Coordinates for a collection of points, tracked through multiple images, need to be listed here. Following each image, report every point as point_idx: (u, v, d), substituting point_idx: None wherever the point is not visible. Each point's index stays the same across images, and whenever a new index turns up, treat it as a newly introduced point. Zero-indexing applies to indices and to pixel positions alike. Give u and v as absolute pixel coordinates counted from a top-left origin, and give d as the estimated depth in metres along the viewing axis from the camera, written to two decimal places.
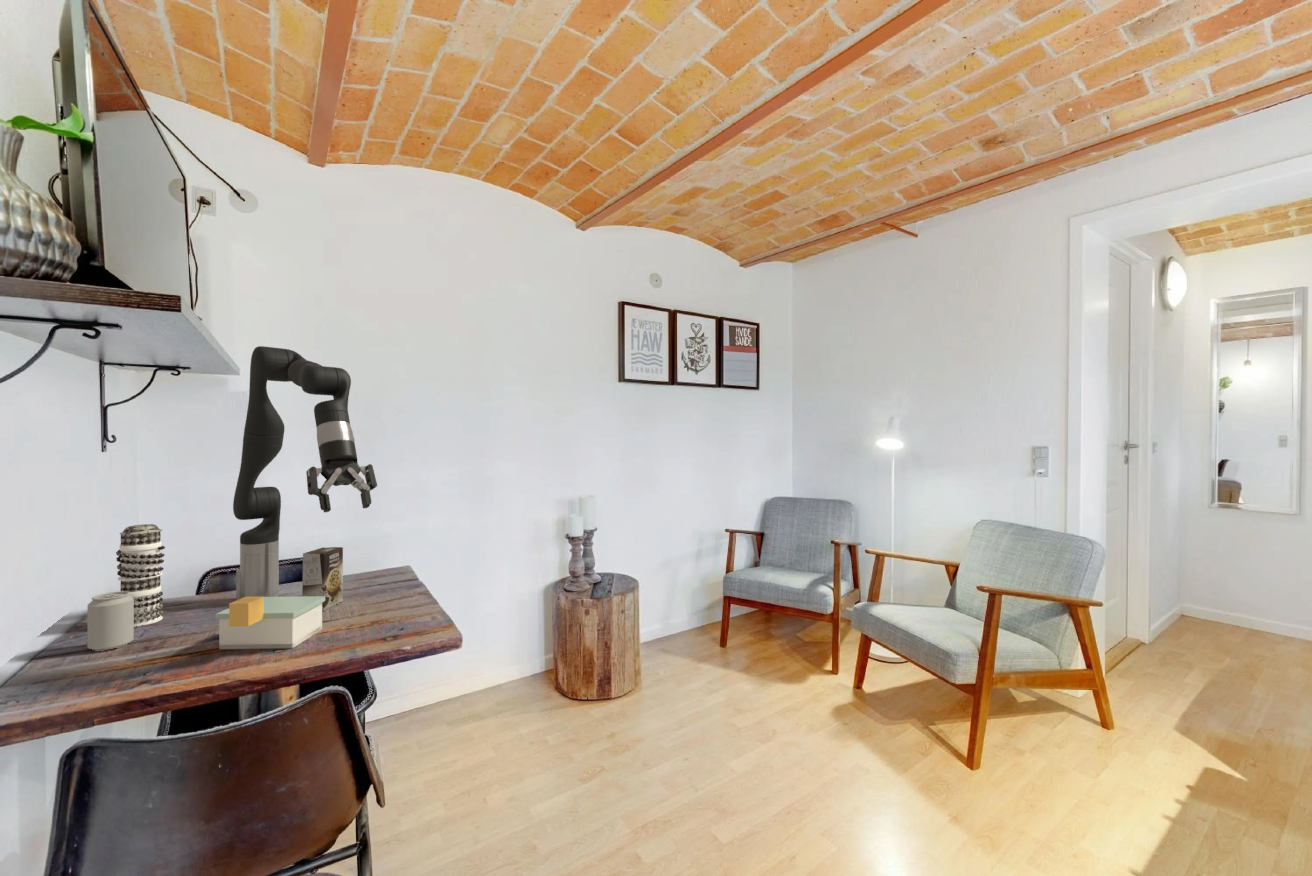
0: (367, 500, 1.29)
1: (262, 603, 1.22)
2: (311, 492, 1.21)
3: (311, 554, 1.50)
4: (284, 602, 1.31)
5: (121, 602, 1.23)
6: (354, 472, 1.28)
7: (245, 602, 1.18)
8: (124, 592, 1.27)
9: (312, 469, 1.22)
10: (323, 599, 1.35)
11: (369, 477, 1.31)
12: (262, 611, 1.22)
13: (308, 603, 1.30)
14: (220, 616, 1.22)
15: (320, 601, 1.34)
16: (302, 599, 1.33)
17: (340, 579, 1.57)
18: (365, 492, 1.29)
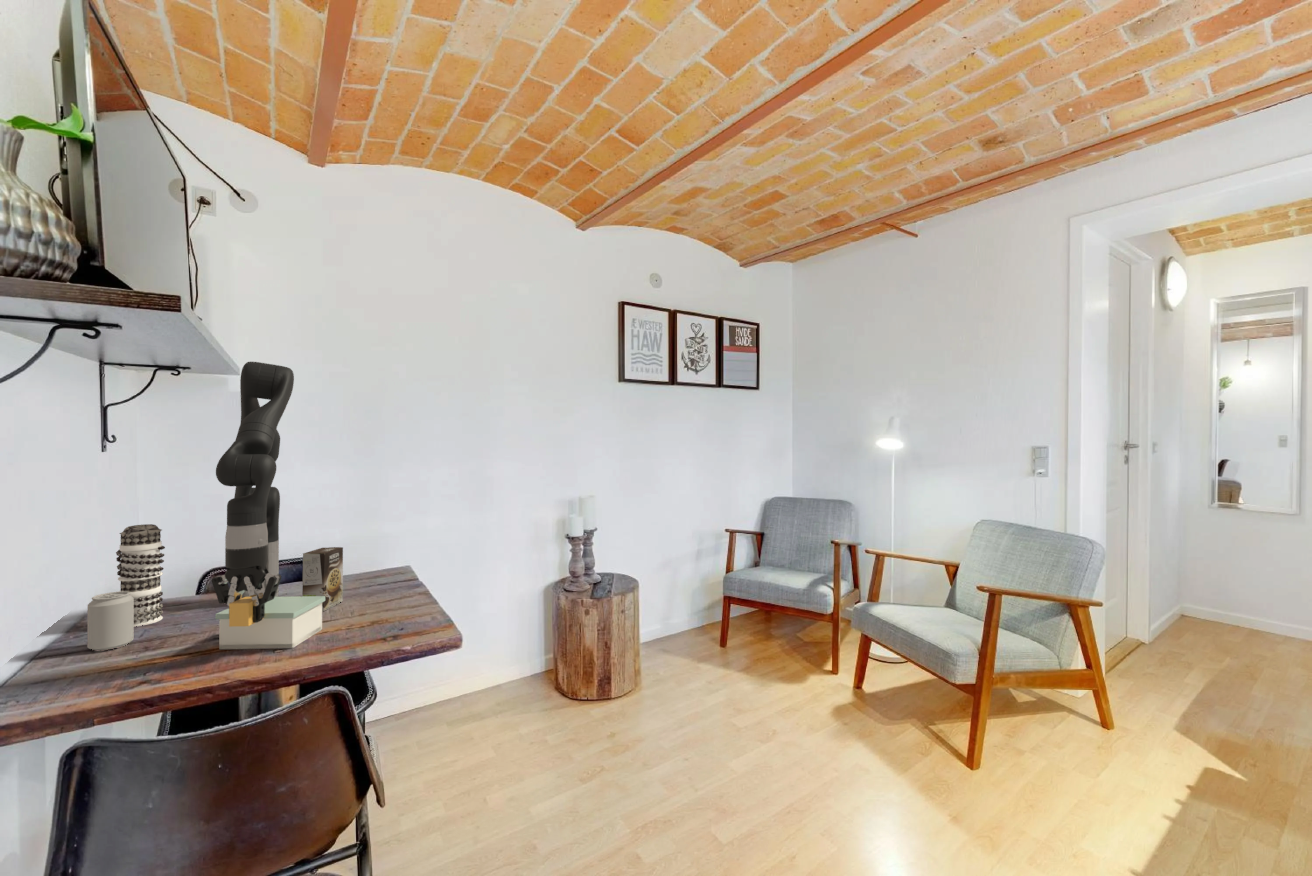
0: (254, 616, 1.19)
1: None
2: None
3: (311, 554, 1.50)
4: (284, 602, 1.31)
5: (121, 602, 1.23)
6: (249, 583, 1.18)
7: (245, 602, 1.18)
8: (124, 592, 1.27)
9: (213, 581, 1.19)
10: (323, 599, 1.35)
11: None
12: None
13: (308, 603, 1.30)
14: (220, 616, 1.22)
15: (320, 601, 1.34)
16: (302, 599, 1.33)
17: (340, 579, 1.57)
18: (253, 607, 1.19)
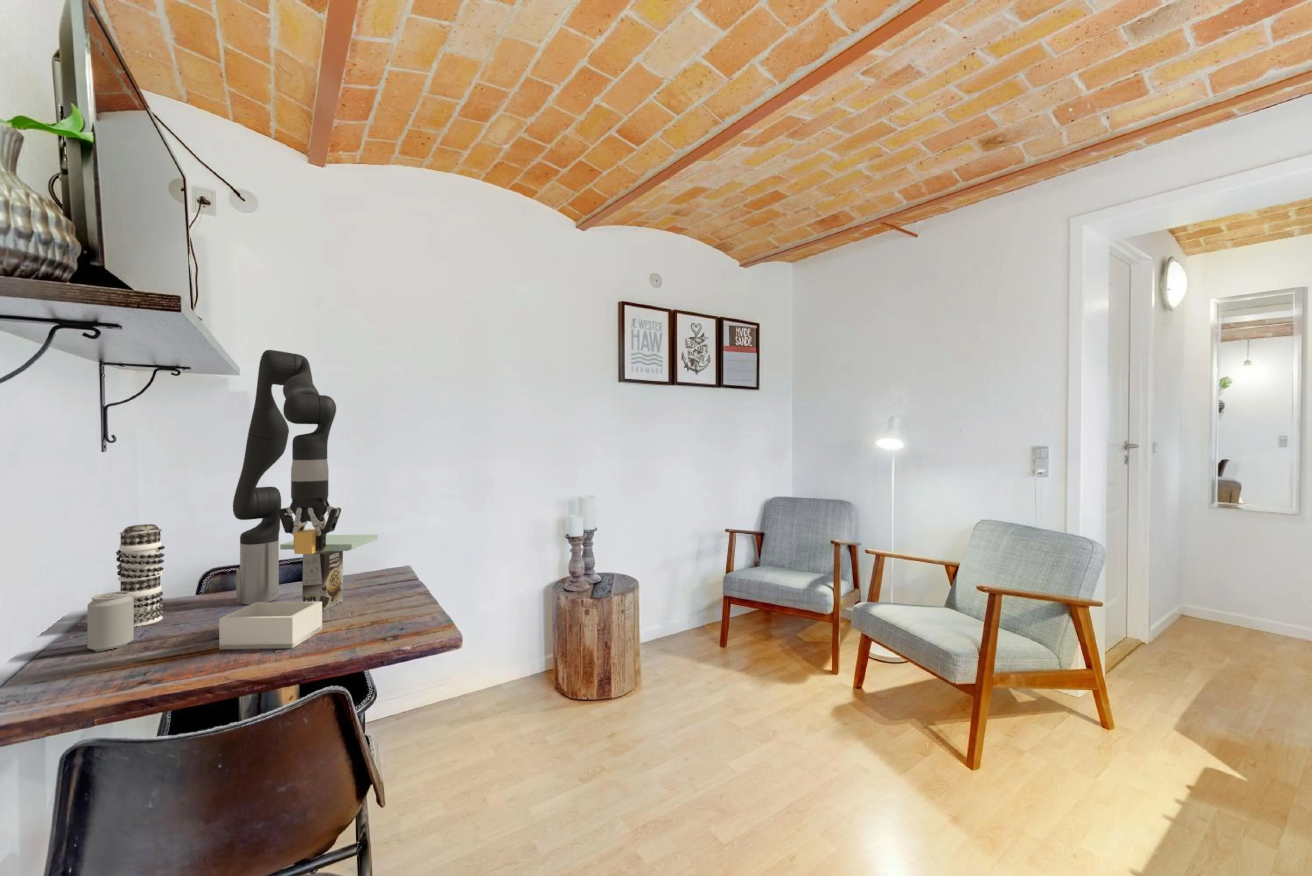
0: (316, 545, 1.28)
1: None
2: None
3: (311, 554, 1.50)
4: (341, 538, 1.39)
5: (121, 602, 1.23)
6: (313, 514, 1.27)
7: (309, 532, 1.27)
8: (124, 592, 1.27)
9: (279, 512, 1.27)
10: (376, 537, 1.44)
11: None
12: None
13: (363, 538, 1.38)
14: (284, 546, 1.31)
15: (373, 538, 1.42)
16: (357, 536, 1.42)
17: (340, 579, 1.57)
18: (316, 537, 1.28)
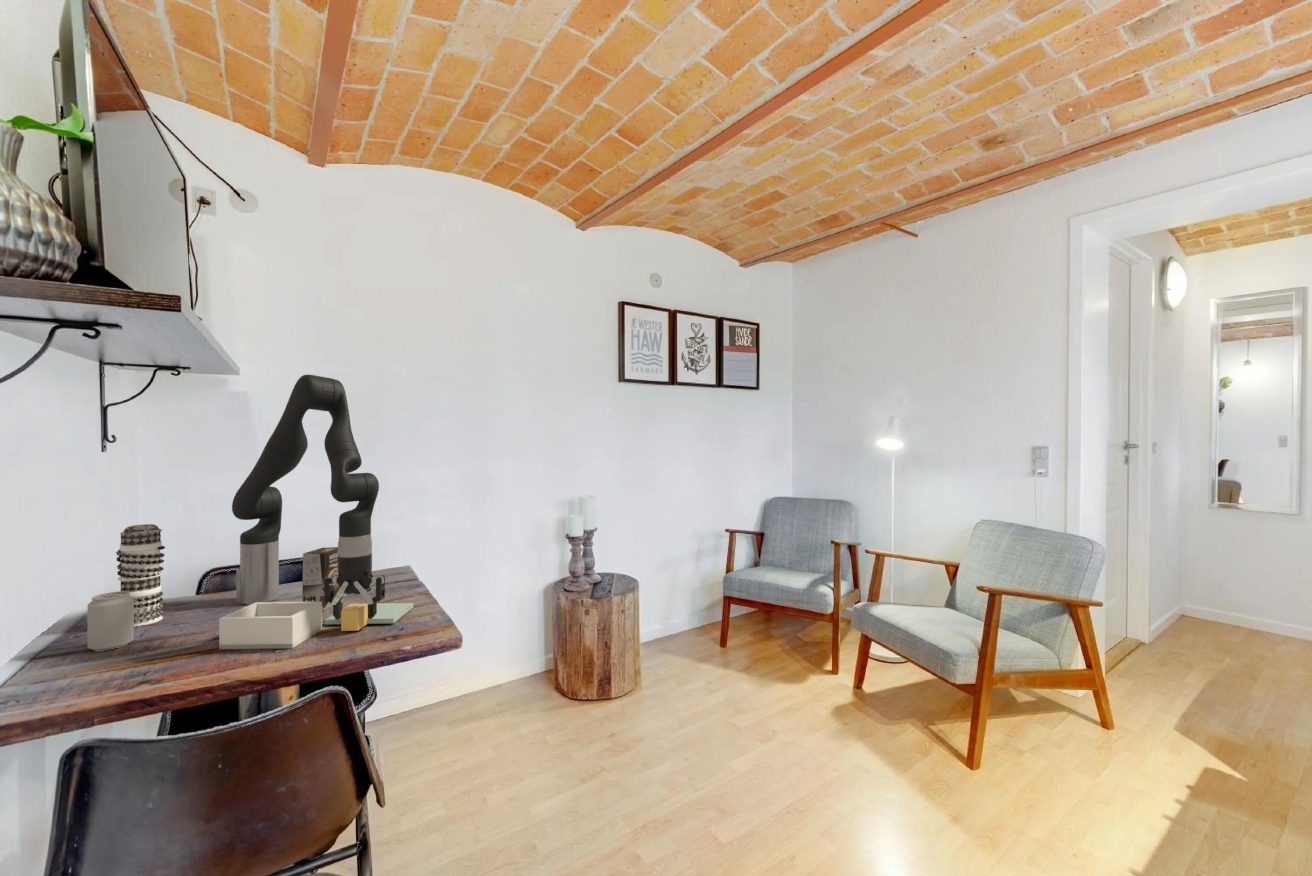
0: (369, 613, 1.35)
1: (366, 610, 1.38)
2: None
3: (311, 554, 1.50)
4: (380, 609, 1.46)
5: (121, 602, 1.23)
6: (359, 586, 1.34)
7: (354, 609, 1.34)
8: (124, 592, 1.27)
9: (325, 581, 1.34)
10: (412, 606, 1.51)
11: None
12: (366, 617, 1.38)
13: (402, 609, 1.46)
14: (329, 621, 1.38)
15: (410, 607, 1.50)
16: (394, 606, 1.49)
17: None
18: (368, 605, 1.35)
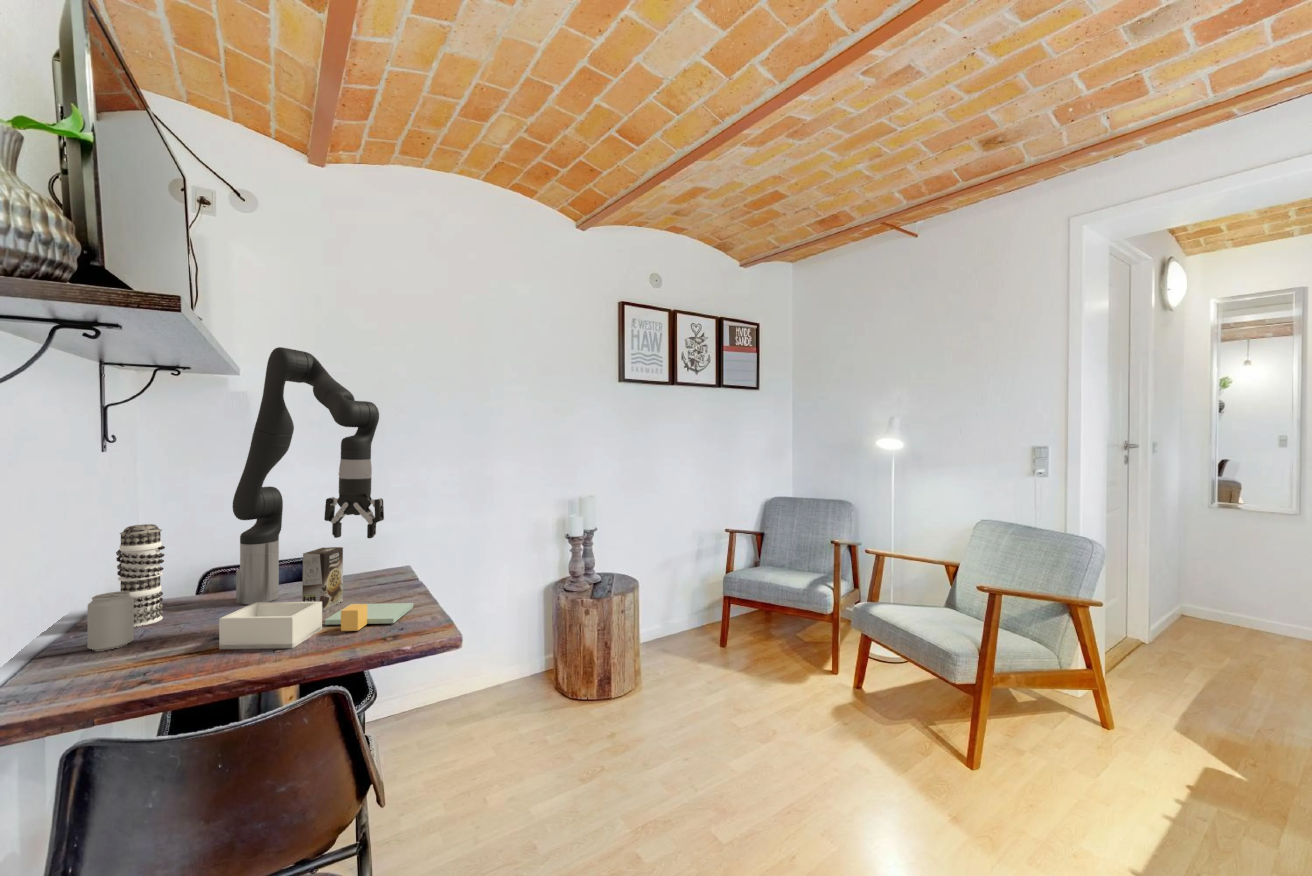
0: (368, 533, 1.42)
1: (366, 610, 1.38)
2: None
3: (311, 554, 1.50)
4: (380, 609, 1.46)
5: (121, 602, 1.23)
6: (359, 507, 1.41)
7: (354, 609, 1.34)
8: (124, 592, 1.27)
9: (327, 501, 1.42)
10: (412, 606, 1.51)
11: None
12: (366, 617, 1.38)
13: (402, 609, 1.46)
14: (329, 622, 1.38)
15: (410, 607, 1.50)
16: (394, 606, 1.49)
17: (340, 579, 1.57)
18: (368, 525, 1.42)
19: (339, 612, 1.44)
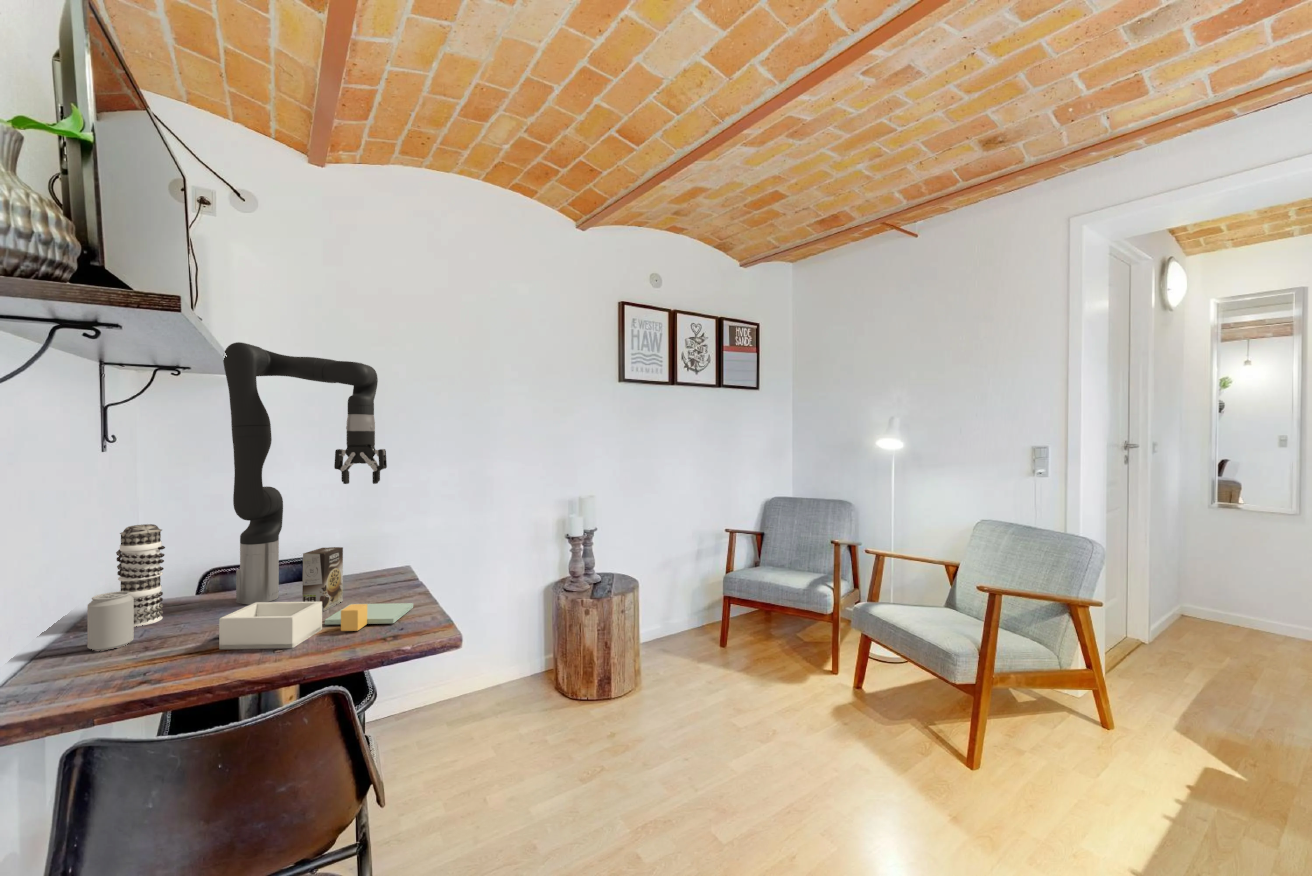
0: (373, 479, 1.62)
1: (366, 610, 1.38)
2: None
3: (311, 554, 1.50)
4: (380, 609, 1.46)
5: (121, 602, 1.23)
6: (365, 456, 1.62)
7: (354, 609, 1.34)
8: (124, 592, 1.27)
9: (336, 451, 1.62)
10: (412, 606, 1.51)
11: None
12: (366, 617, 1.38)
13: (402, 609, 1.46)
14: (329, 621, 1.38)
15: (410, 608, 1.50)
16: (394, 606, 1.49)
17: (340, 579, 1.57)
18: (373, 472, 1.62)
19: (339, 612, 1.43)
